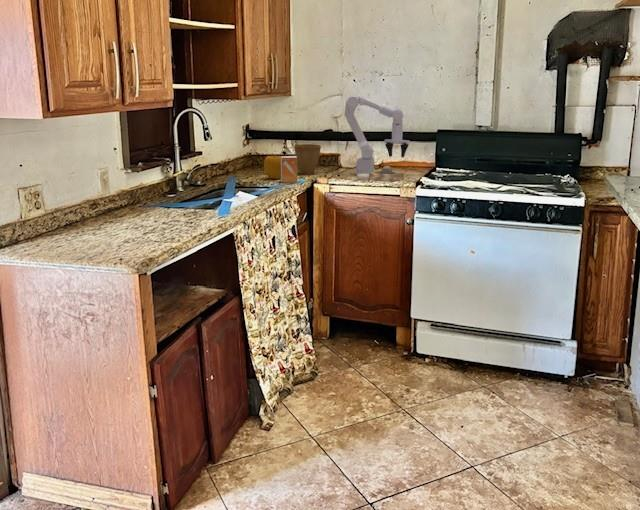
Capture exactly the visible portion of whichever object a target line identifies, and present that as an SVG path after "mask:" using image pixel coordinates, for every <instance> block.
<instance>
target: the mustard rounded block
mask: <svg viewBox="0 0 640 510" xmlns="http://www.w3.org/2000/svg"><path fill="white" fill-rule="evenodd" d="M281 156H282V155H281ZM281 156H280V155H276V154H274V155H267V156H266V157H265V158H264V161H263V169H264V171H265V174H266V176H267V177H268V178H269V179H273V180H278V179H279V180H281Z"/></svg>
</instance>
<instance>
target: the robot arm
mask: <svg viewBox="0 0 640 510" xmlns="http://www.w3.org/2000/svg"><path fill="white" fill-rule="evenodd" d="M358 106H361V107H362V106H367V107H369V108H372V109H375V110H377V111H378V112H379V114H381V115H383V116H386V117H388V118H392V124H391V138H390V139H388V138H387V139H384V144H385V147H386V149H387V152H388V153H387V154H388V157H390V158H391V157H393V148H394V144H396V145H398V144H400V150H401V151H400V152H401V153H400V154H401V155H400V158H405V157H406V156H405V154H406V152H407V150H408V147H409V145H410V140H407V139H403V126H404V125H403V123H404V122H403V118H404V113H403V111H402V110H401V109H399V108H397V106H394V107H393V106H391V105H389V103H388V102H387V103H381V104H379V102H378V103H377V102H375V101H373V100H371V99H368V98H366V97H363V96H358V95H356V94H353V95H350V96H349V97H348V98H347V100H346V102H345V106H344V107H345V109H344V117H345V120H346V121H347V123H348V125H349V128H350V129H351V131H352V133H353V135H354V137H355V139H356V141H357V143H358V145H359V149H360V150H361V151H360V152H361V157H359V158H357V160H356V162H355V175H357V174H360V173H366V174H369V173H372V172H375V170H374V169H375V167H374V165H375V163H374V162H375V159H374V157H373V155H374V149H373V147H372V146H371V145H370V144H369V142H368V140H367V139H366V137H365V134H364V132H363V130H362V128H361V126H360V124H359V122H358V121H357V120H358V119H356V118H357V117H356V116H355V115H354V114H355V111H356V108H358Z"/></svg>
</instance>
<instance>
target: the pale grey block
mask: <svg viewBox="0 0 640 510" xmlns="http://www.w3.org/2000/svg"><path fill="white" fill-rule="evenodd" d="M356 180H357V181H370V180H369V174H366V173H360V174H356Z"/></svg>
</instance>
